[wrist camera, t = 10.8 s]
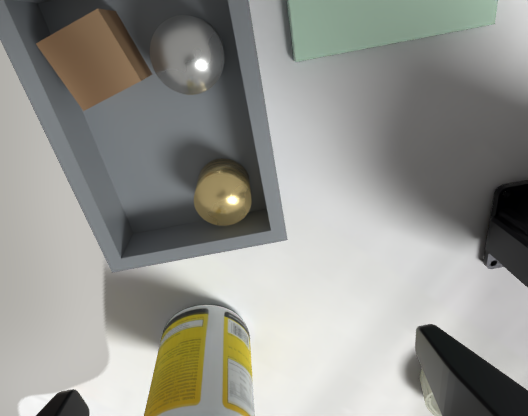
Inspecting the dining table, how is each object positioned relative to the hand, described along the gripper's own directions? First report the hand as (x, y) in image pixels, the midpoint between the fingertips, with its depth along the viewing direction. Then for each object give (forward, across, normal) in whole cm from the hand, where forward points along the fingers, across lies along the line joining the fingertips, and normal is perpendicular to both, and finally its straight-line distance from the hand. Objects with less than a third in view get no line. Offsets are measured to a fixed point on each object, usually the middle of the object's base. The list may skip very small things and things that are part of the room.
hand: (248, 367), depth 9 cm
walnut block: (+13, +5, -8) cm, 15 cm away
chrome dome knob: (+13, +1, -7) cm, 14 cm away
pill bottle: (+13, +5, +12) cm, 19 cm away
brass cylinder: (+13, +1, 0) cm, 13 cm away
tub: (+13, +3, -4) cm, 14 cm away
